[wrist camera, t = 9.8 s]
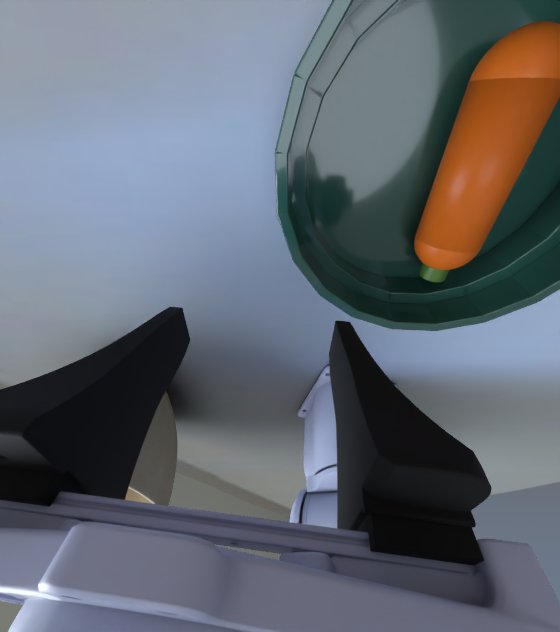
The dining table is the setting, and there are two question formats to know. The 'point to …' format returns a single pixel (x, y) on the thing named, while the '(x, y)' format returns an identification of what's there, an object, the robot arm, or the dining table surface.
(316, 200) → the green glass bowl
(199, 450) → the dining table surface
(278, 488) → the dining table surface
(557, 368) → the dining table surface
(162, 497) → the beige deep bowl
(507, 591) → the robot arm
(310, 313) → the dining table surface
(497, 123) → the carrot
